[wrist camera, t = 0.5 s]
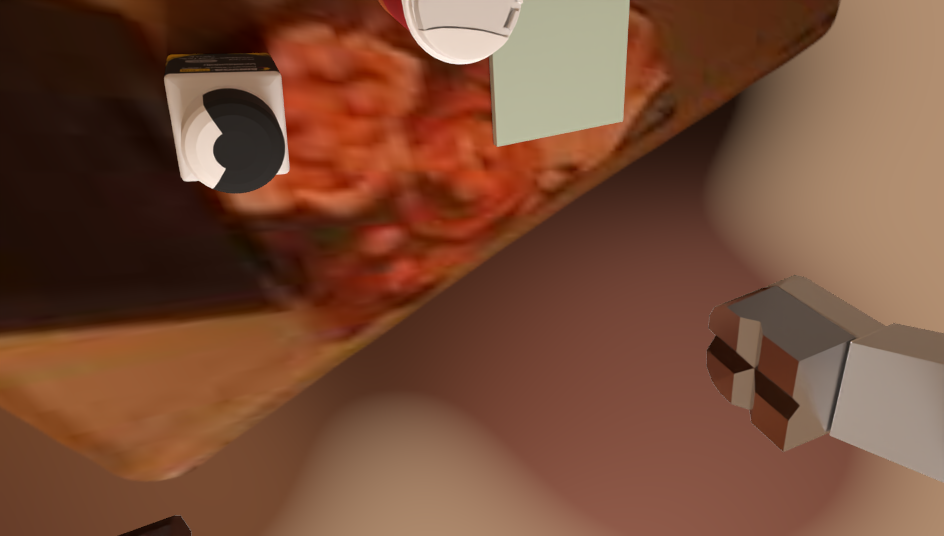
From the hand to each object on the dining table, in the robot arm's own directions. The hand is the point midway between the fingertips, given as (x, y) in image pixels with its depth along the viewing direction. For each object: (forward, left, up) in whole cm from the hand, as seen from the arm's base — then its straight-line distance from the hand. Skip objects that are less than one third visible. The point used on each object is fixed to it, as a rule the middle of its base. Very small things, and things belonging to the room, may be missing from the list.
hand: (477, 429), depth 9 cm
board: (+7, +25, -45) cm, 52 cm away
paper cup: (-1, +12, -46) cm, 47 cm away
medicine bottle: (+6, -3, -46) cm, 46 cm away
